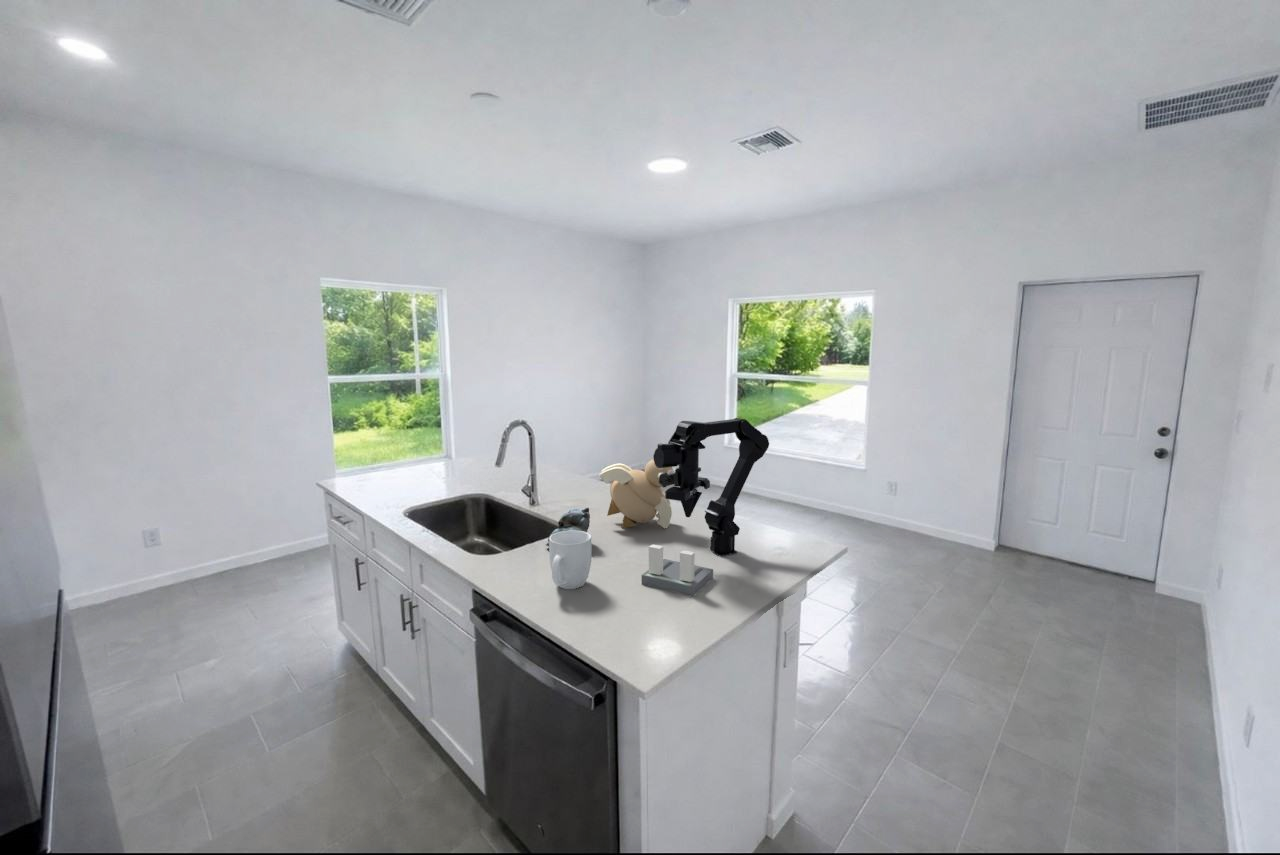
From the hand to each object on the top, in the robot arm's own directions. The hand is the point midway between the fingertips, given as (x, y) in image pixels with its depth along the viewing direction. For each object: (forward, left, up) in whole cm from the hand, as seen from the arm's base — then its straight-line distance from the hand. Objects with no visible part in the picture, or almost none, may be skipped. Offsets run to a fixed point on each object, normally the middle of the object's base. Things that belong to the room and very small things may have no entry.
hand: (688, 516), depth 158 cm
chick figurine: (+3, -36, -13) cm, 38 cm away
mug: (+37, +6, -13) cm, 40 cm away
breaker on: (+9, +19, -10) cm, 23 cm away
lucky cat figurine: (+30, -23, -13) cm, 40 cm away
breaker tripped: (+15, +12, -10) cm, 22 cm away
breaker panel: (+9, +13, -13) cm, 20 cm away
